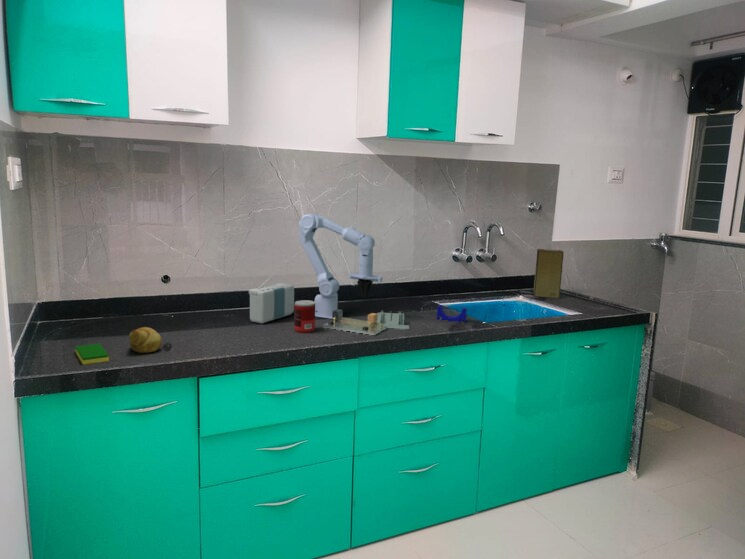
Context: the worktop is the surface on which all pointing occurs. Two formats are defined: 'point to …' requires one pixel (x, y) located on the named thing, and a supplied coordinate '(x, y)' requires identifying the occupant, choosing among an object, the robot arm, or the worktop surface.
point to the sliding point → (372, 318)
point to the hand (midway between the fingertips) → (364, 297)
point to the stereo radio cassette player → (271, 302)
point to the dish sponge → (91, 354)
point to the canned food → (304, 316)
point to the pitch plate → (353, 324)
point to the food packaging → (548, 273)
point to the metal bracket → (392, 320)
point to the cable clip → (454, 318)
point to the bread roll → (145, 340)
